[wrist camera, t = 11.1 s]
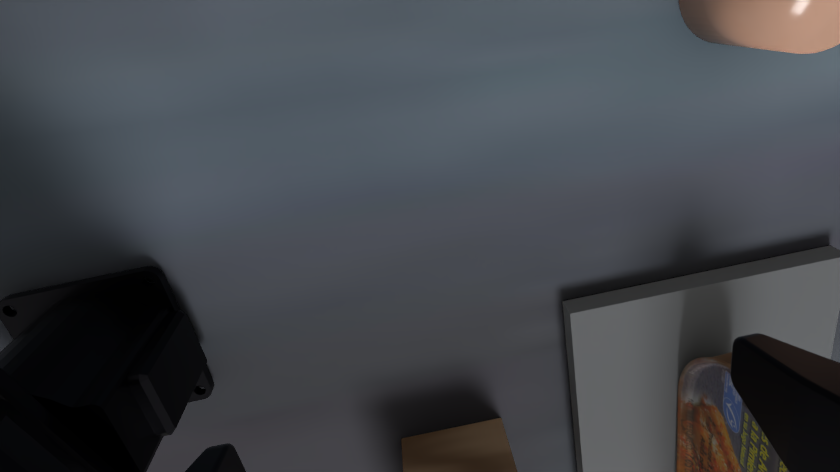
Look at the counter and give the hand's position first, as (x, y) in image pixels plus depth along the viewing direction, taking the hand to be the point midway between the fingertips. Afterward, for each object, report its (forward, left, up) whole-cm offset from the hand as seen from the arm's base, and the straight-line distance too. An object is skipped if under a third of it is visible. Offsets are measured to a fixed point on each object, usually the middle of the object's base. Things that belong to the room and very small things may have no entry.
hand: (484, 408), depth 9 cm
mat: (+11, -16, -12) cm, 23 cm away
